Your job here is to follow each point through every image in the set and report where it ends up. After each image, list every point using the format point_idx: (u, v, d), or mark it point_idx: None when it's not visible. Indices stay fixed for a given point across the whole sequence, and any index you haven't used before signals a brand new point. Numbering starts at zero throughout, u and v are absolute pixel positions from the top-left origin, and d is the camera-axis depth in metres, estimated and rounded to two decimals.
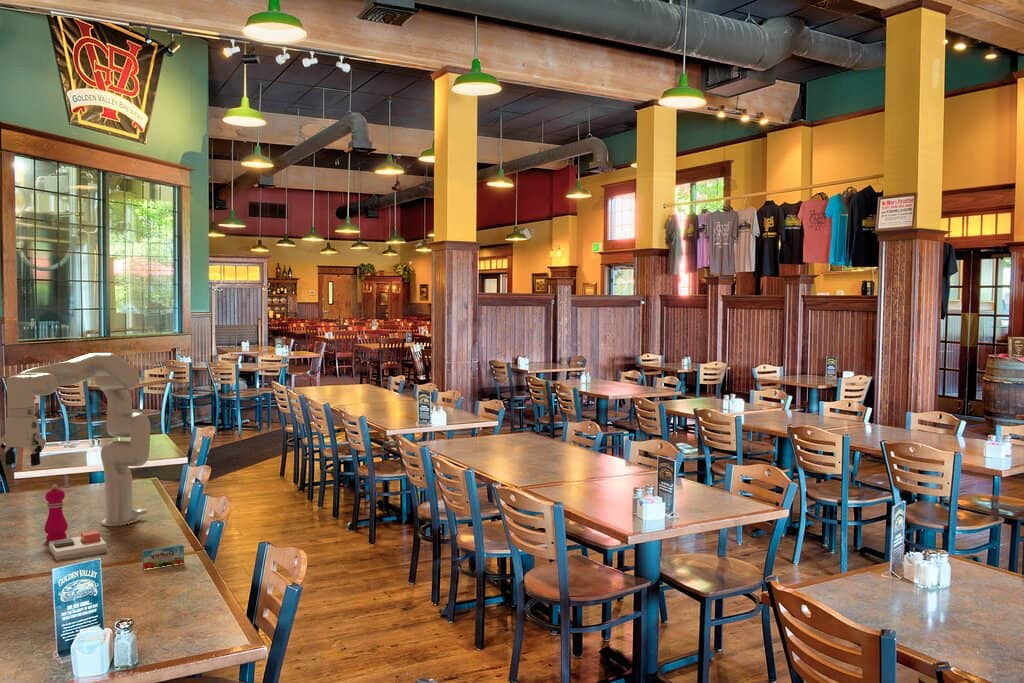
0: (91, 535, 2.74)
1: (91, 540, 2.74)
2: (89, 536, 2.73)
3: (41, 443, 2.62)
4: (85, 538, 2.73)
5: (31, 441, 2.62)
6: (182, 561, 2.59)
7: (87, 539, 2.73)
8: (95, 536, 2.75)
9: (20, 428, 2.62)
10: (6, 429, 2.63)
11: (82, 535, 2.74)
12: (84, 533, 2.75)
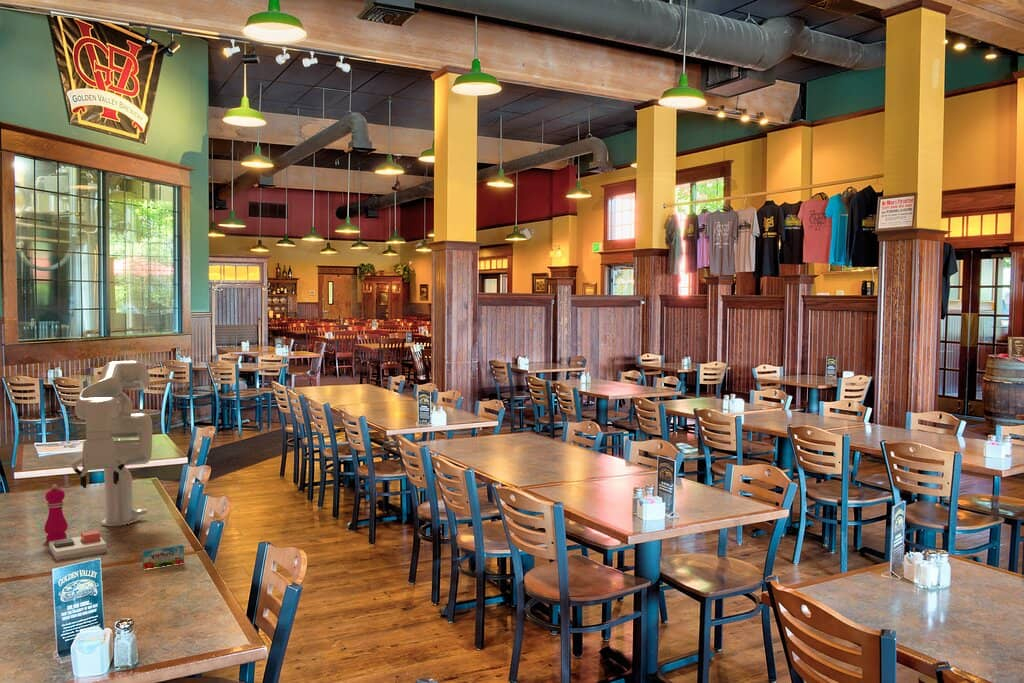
0: (91, 535, 2.74)
1: (91, 540, 2.74)
2: (89, 536, 2.73)
3: (124, 461, 2.81)
4: (85, 538, 2.73)
5: (116, 461, 2.79)
6: (182, 561, 2.59)
7: (87, 539, 2.73)
8: (95, 536, 2.75)
9: (106, 449, 2.76)
10: (87, 453, 2.73)
11: (82, 535, 2.74)
12: (84, 533, 2.75)
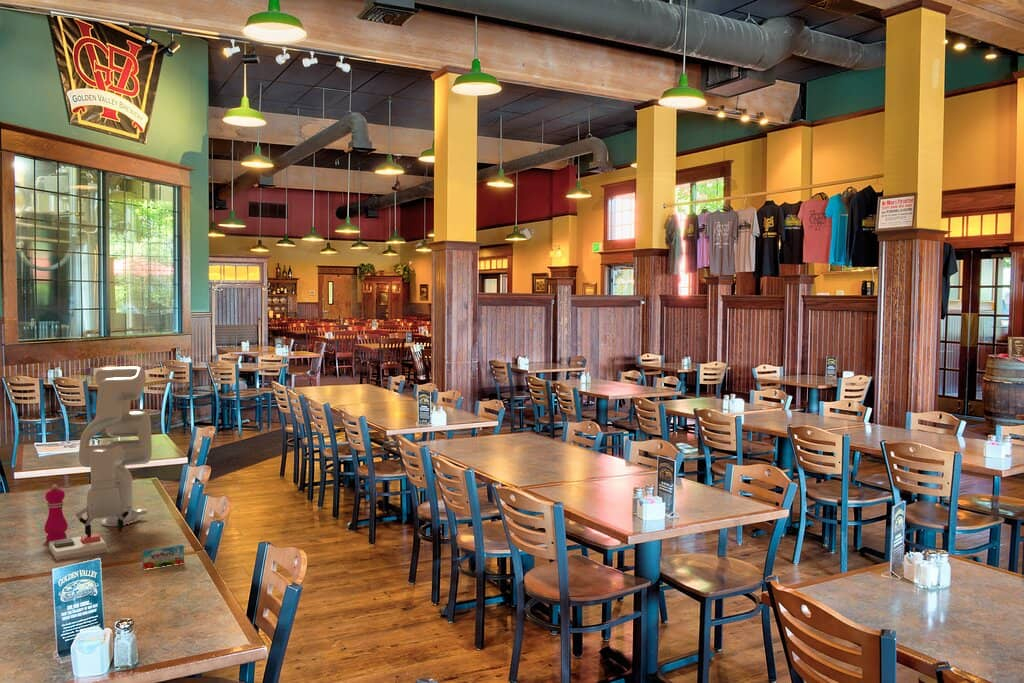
0: (91, 538, 2.74)
1: None
2: (89, 539, 2.74)
3: (129, 509, 2.83)
4: (85, 541, 2.73)
5: (120, 509, 2.80)
6: (182, 561, 2.59)
7: (87, 542, 2.73)
8: (95, 539, 2.75)
9: (110, 498, 2.77)
10: (92, 502, 2.74)
11: (82, 538, 2.74)
12: (84, 536, 2.75)
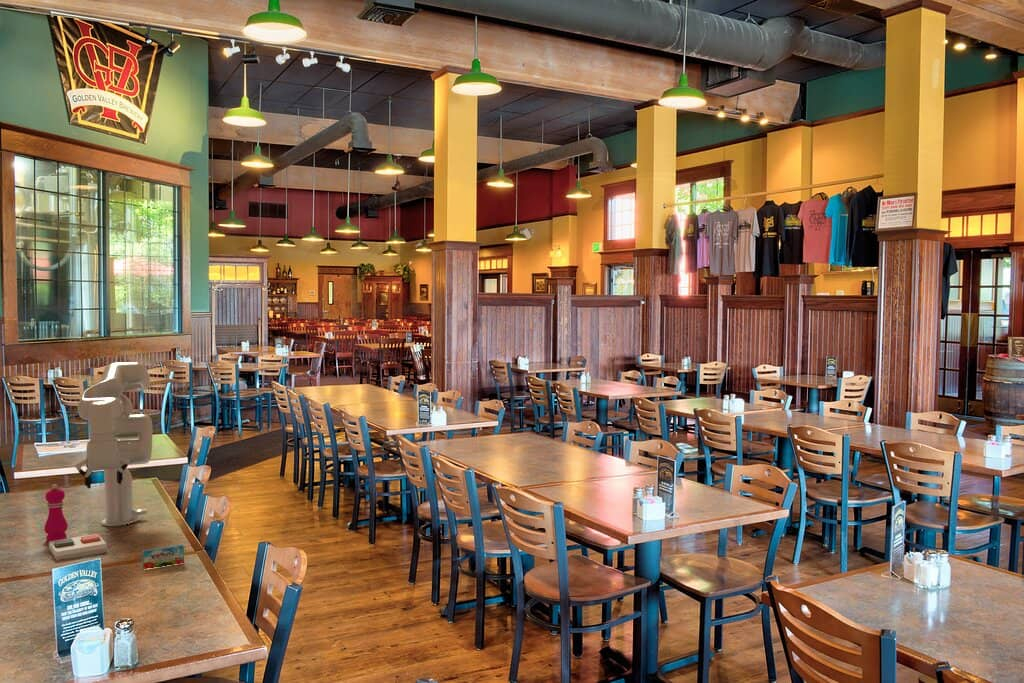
0: (91, 539, 2.74)
1: None
2: (89, 540, 2.74)
3: (128, 461, 2.85)
4: (85, 542, 2.73)
5: (119, 461, 2.82)
6: (182, 561, 2.59)
7: None
8: (95, 540, 2.75)
9: (109, 451, 2.79)
10: (91, 454, 2.76)
11: (82, 539, 2.74)
12: (84, 537, 2.75)
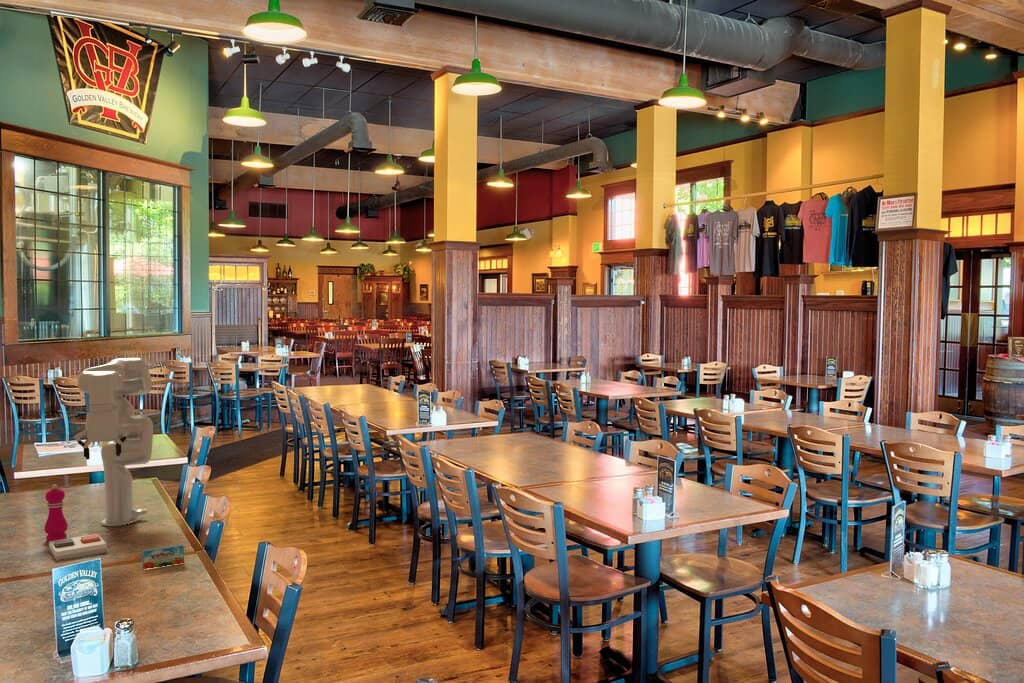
0: (91, 539, 2.74)
1: None
2: (89, 540, 2.74)
3: (127, 434, 2.86)
4: (85, 542, 2.73)
5: (118, 433, 2.84)
6: (182, 561, 2.59)
7: None
8: (95, 540, 2.75)
9: (109, 422, 2.81)
10: (90, 425, 2.78)
11: (82, 539, 2.74)
12: (84, 537, 2.75)
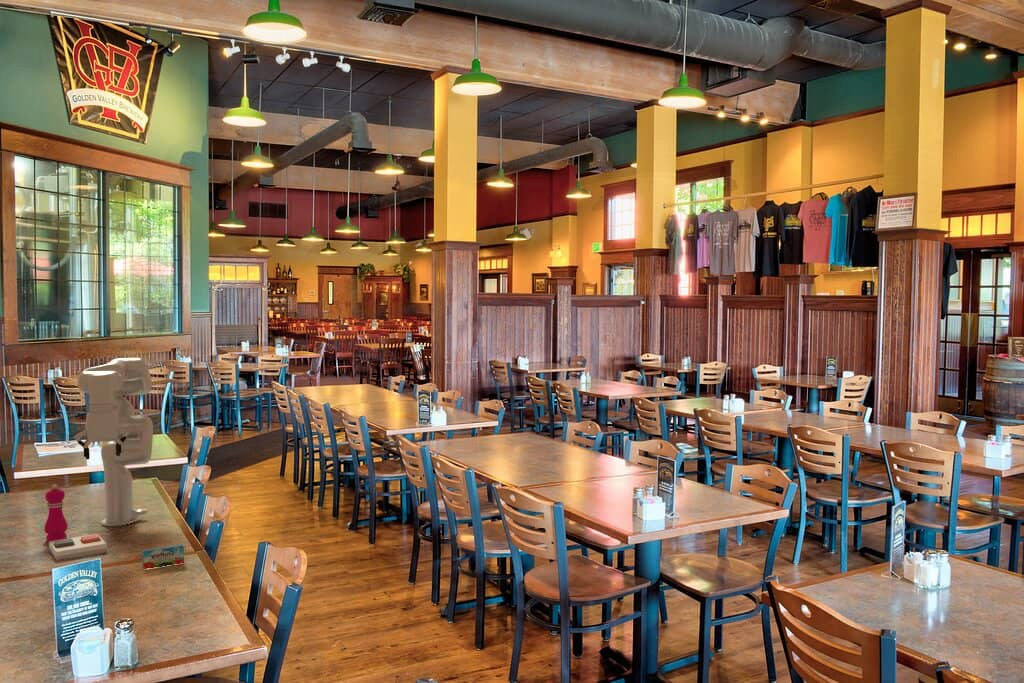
0: (91, 539, 2.74)
1: None
2: (89, 540, 2.74)
3: (127, 434, 2.86)
4: (85, 542, 2.73)
5: (118, 433, 2.84)
6: (182, 561, 2.59)
7: None
8: (95, 540, 2.75)
9: (109, 422, 2.81)
10: (90, 425, 2.78)
11: (82, 539, 2.74)
12: (84, 537, 2.75)
